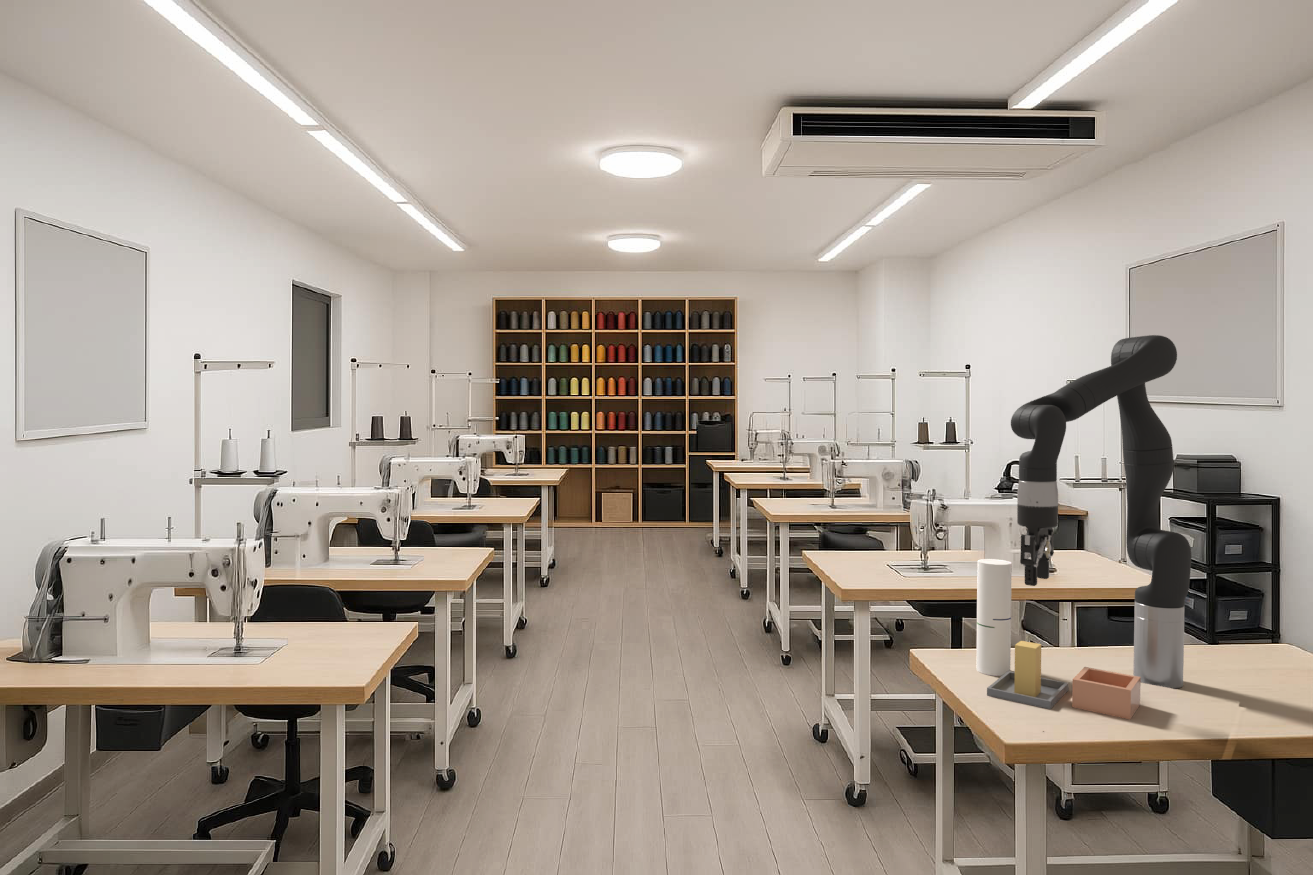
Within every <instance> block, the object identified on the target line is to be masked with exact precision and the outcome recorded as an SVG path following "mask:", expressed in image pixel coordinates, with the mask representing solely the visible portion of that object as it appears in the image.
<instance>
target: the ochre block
mask: <svg viewBox="0 0 1313 875" xmlns="http://www.w3.org/2000/svg"><path fill="white" fill-rule="evenodd" d="M1014 672H1015V684H1014V693H1018V694H1022V695H1027V696H1032V697H1036V696H1037V695H1038V694H1039V693H1040V692H1041V678H1042V644H1041V643H1036V642H1030V641H1026V640H1025V641H1024V640H1020V641H1018V642H1017V643H1016V644H1015V645H1014Z"/></svg>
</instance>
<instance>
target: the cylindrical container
mask: <svg viewBox="0 0 1313 875" xmlns="http://www.w3.org/2000/svg"><path fill="white" fill-rule="evenodd" d="M1012 564H1013V563H1012V561H1008V560H1005V559H998V558H981V559H980V558H979V559H978V560H977V564H976V566H977V572H976V574H977V575H976V576H977V578H976V579H977V580H976V581H977V582H976V590H977V591H976V653H975V654H976V655H975V656H976V660H975V661H976V664H975V665H976V668H975V670H976V671H977V672H978V673H981V674H982V675H983V674H984V675H988V676H994V677H1001V676H1003V675H1004V674H1005V673H1006V672H1008V671H1011V658H1012V657H1011V655H1012V654H1011V651H1012V650H1011V648H1012V647H1011V646H1012V644H1011V643H1012V635H1011V634H1012Z"/></svg>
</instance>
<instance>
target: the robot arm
mask: <svg viewBox="0 0 1313 875" xmlns="http://www.w3.org/2000/svg"><path fill="white" fill-rule="evenodd" d="M1110 355H1111V356H1110V366H1107V367H1105V368H1102V369H1099V370H1096V371H1092V372H1091V373H1088V374H1085V375H1082V376H1081V377H1078V378H1076V379H1074V380H1072V381H1071V382H1068V383H1066V384H1065V385H1064V386H1062V387H1060V388H1059V389H1057V390H1056V391H1054V392H1052V393H1050V394H1048V395H1043V396H1042V397H1041V396H1040V397H1038V398H1035V399H1033V400H1031V401H1028V402H1026V403H1024V404H1023V405H1022V404H1021V406H1019V407H1018V408H1017V409H1016V410H1015V411H1014V412H1013V414H1012V416H1011V418H1010V428H1011V430H1012V432H1013V433H1014V435H1016V436H1017V437H1019V438H1021V439H1024V440H1034V441H1033V442H1034V444H1033V446H1032V448H1031V450H1030V451H1025V452H1023V453H1021V454H1020V456H1019V460H1018V486H1017V498H1016V499H1017V501H1016V502H1017V505H1016V506H1017V507H1016V510H1017V511H1016V512H1017V513H1016V514H1017V520H1016V522H1017V525H1019V526H1020V527H1026V529H1027V530H1026V534H1021V536H1020V558H1019V559H1020V560H1019V562H1020V565H1023V567H1024V585H1026V586H1031V587H1035V586H1037V585H1038V579H1040V580H1041V579H1042V580H1047V579H1049V577H1050V561H1051V559H1052V557H1053V556H1054V535H1053V534H1054V529H1053V528H1056V527H1058V525H1059V490H1058V478H1057V475H1058V472H1057V470H1058V459H1059V456H1060V453H1061V450H1062V447H1063V446H1062V445H1063V442H1064V439H1065V435H1066V432H1067V423H1068V422H1073V421H1075V420H1078V419H1079V418H1081V417H1083V416H1084V415H1086V414H1087V413H1090V412H1091V411H1092V410H1095V409H1096V408H1097V407H1100V406H1101V405H1102V404H1105V403H1106V402H1108V401H1110V400H1111V399H1113V398H1115V397H1116V398H1117V404H1118V411H1119V418H1120V428H1121V437H1122V439H1121V440H1122V455H1123V466H1124V473H1125V485H1126V487H1125V488H1126V490H1125V491H1126V504H1127V505H1126V506H1127V508H1126V511H1127V512H1126V552H1127V556H1128V558H1129V560H1130V561H1131V563H1132V564H1133V565H1134V566H1135V567H1137V568H1140V569H1143V570H1147V571H1150V572H1151V580H1150V582H1149V584H1148V585H1144V586H1143V585H1142V586H1139V587H1136V588H1135V590H1134V610H1133V611H1134V621H1133V622H1134V626H1133V627H1134V628H1133V629H1134V630H1133V670H1132V671H1133V676H1138V677H1141V684H1147V685H1150V686H1151V685H1152V686H1157V687H1162V688H1167V689H1168V688H1169V689H1179V688H1180V689H1181V687H1183V686H1184V666H1185V665H1184V662H1185V661H1184V656H1185V654H1184V653H1185V650H1184V649H1185V604H1186V598H1187V596H1188V594H1189V591H1190V582H1191V571H1192V570H1191V569H1192V549H1191V545H1190V542H1189V540H1188V539H1187V537H1185V535H1183V534H1181V533H1179V532H1175V531H1170V530H1164V529H1161V528H1160V523H1159V522H1160V521H1159V520H1160V519H1159V505H1160V500H1161V498H1162V496H1163V493H1164V492H1165V490H1166V488H1167V486H1168V485H1169V482H1170V480H1171V478H1172V476H1173V473H1174V466H1175V465H1174V463H1175V462H1174V451H1173V450H1174V449H1173V444H1172V442H1173V441H1172V437H1171V435H1170V433H1169V431H1168V429H1167V428H1166V426H1165V425H1164V423H1163V421H1162V420H1161V418H1160V417H1159V416H1158V414H1156V411H1155V410H1154V409H1153V407H1152V405H1151V403H1150V401H1149V398H1148V394H1147V389H1146V383H1148V382H1151V381H1154V380H1156V379H1160V378H1162V377H1163V376H1166V375H1167V374H1169V373H1171V371H1172V370H1173V369H1174V367H1175V365H1176V364H1177V360H1178V350H1177V348H1176V345H1175V343H1174V341H1172V340H1171V339H1170V338H1169V337H1167V336H1164V335H1159V334H1158V335H1157V334H1153V335H1150V334H1149V335H1141V336H1134V337H1133V336H1132V337H1125V338H1121V339H1120V340H1118V341H1116V343H1115V344H1114V345H1113V348H1112V349H1111V353H1110Z"/></svg>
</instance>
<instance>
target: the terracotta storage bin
mask: <svg viewBox="0 0 1313 875" xmlns="http://www.w3.org/2000/svg"><path fill="white" fill-rule="evenodd" d="M1141 684H1142V683H1141V677H1138V676H1133V675H1132V674H1127V673H1121V672H1115V671H1112V670H1111V671H1110V670H1105V669H1099V668H1093V667H1087V666H1084V667H1083V668H1082V669H1081V670H1080V671H1079V672H1078V673H1077V674H1076V675H1075V676H1074V677H1073V678H1072V685H1071V686H1072V690H1071V691H1072V694H1071V698H1072V700H1071V703H1072V704H1071V707H1072V708H1074V709H1078V710H1079V709H1080V710H1083V711H1089V712H1094V713H1099V714H1102V715H1103V714H1104V715H1107V716H1112V717H1117V718H1122V719H1127V720H1131V719H1132V718H1133V716H1134V715H1135V713H1136V711H1138V708H1139V707H1140V705H1141Z"/></svg>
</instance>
